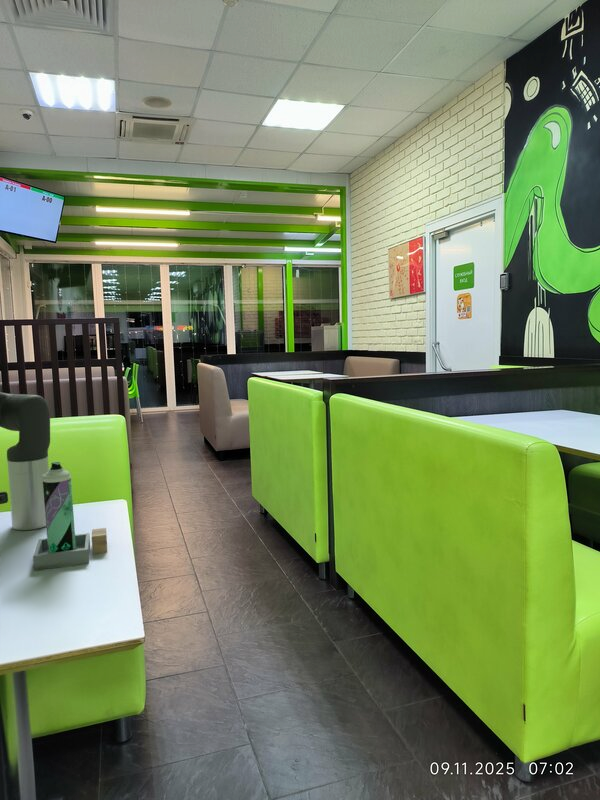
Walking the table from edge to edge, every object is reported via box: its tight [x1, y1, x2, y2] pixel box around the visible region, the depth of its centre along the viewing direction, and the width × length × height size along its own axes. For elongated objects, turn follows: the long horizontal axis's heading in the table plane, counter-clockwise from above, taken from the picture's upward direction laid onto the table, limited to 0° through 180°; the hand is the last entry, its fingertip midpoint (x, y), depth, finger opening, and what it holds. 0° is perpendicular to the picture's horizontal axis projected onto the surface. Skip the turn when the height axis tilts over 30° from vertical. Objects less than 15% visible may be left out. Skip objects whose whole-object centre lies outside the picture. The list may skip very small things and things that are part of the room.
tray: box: [32, 532, 91, 572], centre depth 119 cm, size 10×10×3 cm
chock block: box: [91, 527, 108, 555], centre depth 124 cm, size 5×3×4 cm, turn 19°
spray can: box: [43, 461, 76, 553], centre depth 118 cm, size 6×6×20 cm
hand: (2, 491), depth 110 cm, fingers open, 8 cm apart
